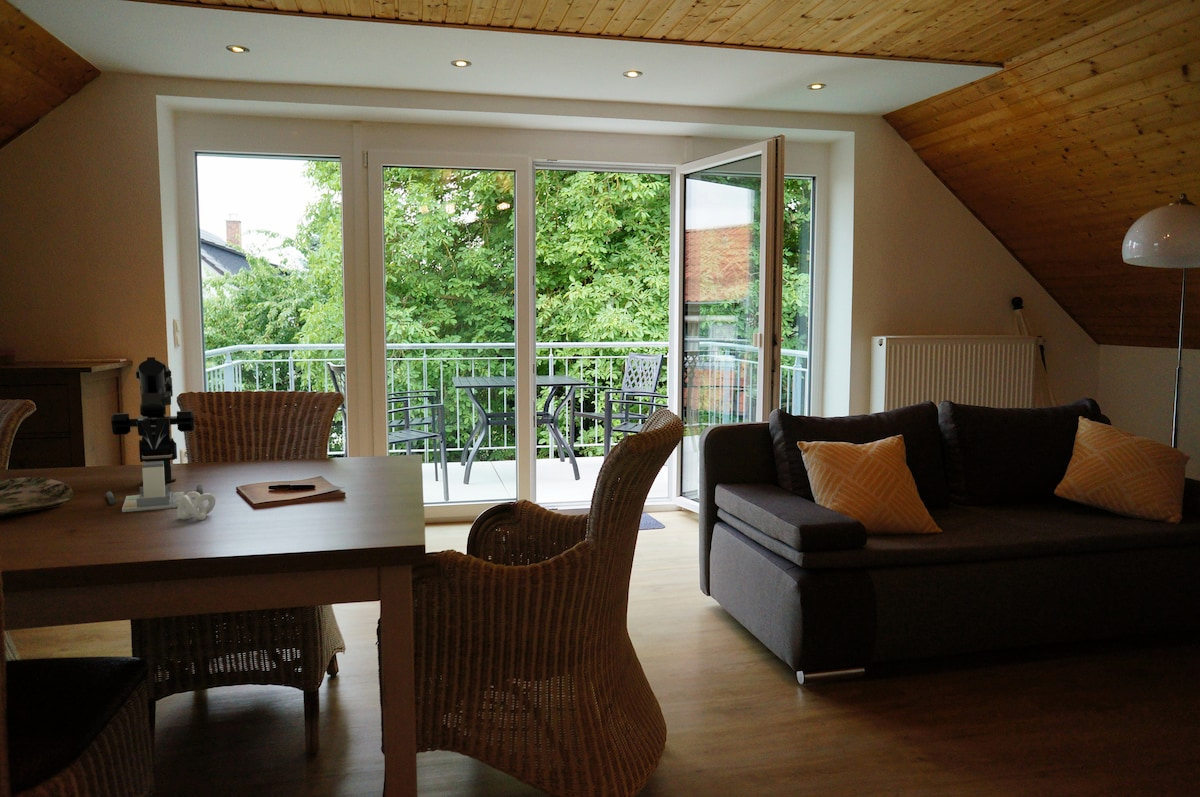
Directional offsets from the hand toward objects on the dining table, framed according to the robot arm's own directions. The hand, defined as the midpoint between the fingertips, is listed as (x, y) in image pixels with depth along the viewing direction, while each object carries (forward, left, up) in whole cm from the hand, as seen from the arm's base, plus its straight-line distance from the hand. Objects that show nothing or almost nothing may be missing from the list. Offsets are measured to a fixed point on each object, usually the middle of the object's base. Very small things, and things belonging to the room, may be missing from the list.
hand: (153, 448), depth 213 cm
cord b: (-6, -8, -12) cm, 16 cm away
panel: (+6, -5, -12) cm, 15 cm away
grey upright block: (+6, -5, -11) cm, 14 cm away
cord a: (+7, +7, -12) cm, 16 cm away
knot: (+29, -11, -13) cm, 34 cm away
